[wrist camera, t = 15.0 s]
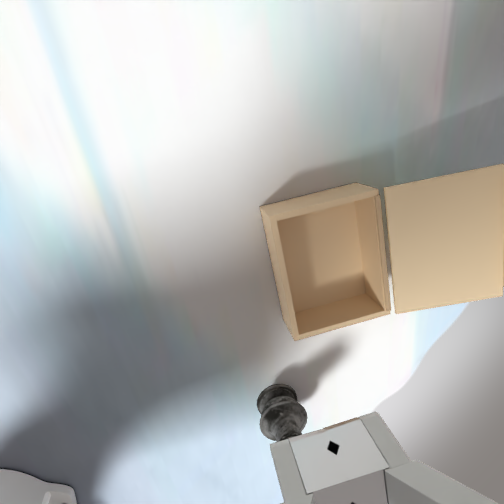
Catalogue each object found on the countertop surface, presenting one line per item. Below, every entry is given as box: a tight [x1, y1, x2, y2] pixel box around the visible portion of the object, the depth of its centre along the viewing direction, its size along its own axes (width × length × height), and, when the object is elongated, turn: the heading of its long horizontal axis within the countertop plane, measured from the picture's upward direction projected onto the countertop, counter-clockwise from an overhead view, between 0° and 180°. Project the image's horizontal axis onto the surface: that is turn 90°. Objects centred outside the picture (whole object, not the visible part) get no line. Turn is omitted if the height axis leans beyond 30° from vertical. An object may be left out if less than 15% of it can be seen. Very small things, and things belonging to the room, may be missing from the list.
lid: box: [384, 164, 504, 314], centre depth 37 cm, size 14×12×1 cm
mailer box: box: [260, 182, 391, 341], centre depth 40 cm, size 14×11×5 cm
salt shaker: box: [257, 384, 307, 442], centre depth 42 cm, size 6×6×12 cm
